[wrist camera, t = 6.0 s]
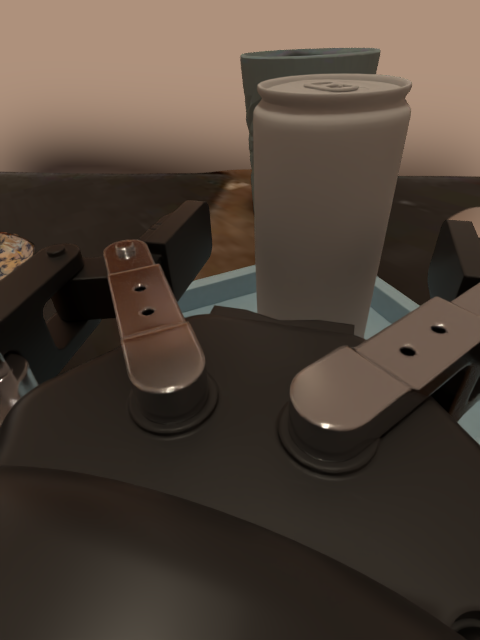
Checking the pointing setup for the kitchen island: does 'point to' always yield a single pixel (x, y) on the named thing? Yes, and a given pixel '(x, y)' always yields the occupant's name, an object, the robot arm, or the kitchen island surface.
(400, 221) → the kitchen island surface
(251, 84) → the green embossed cup
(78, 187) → the kitchen island surface
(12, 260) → the burger
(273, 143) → the beverage can
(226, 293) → the tray
